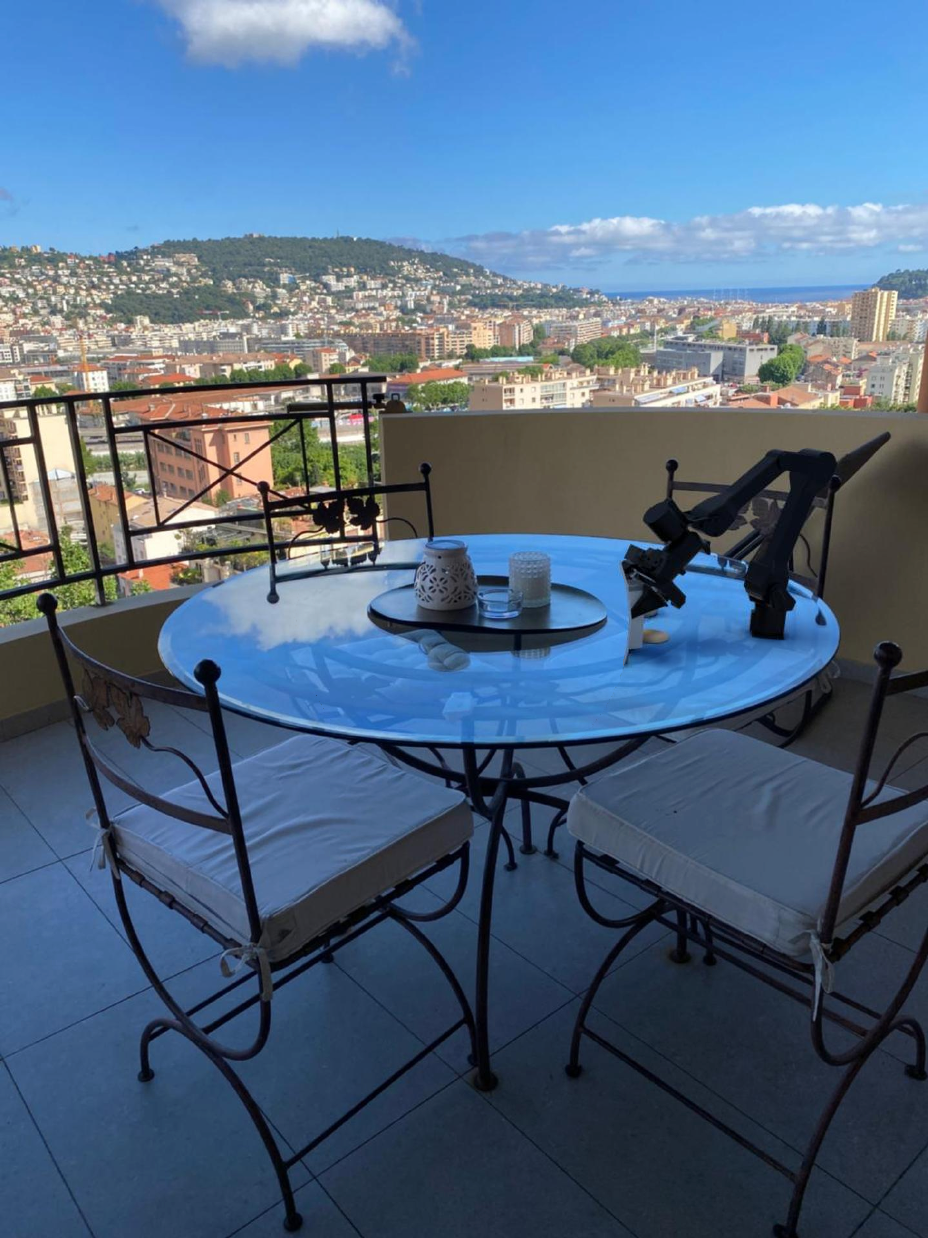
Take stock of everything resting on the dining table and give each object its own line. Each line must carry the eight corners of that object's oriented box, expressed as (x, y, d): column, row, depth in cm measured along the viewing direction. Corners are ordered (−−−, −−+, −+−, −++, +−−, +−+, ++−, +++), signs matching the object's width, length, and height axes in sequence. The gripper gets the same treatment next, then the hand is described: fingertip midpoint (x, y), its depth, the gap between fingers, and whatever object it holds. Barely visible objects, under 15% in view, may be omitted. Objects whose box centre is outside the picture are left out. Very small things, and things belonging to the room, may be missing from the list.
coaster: (669, 632, 176) (669, 630, 176) (667, 645, 169) (667, 643, 169) (631, 629, 178) (632, 627, 178) (628, 641, 171) (628, 639, 171)
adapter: (631, 640, 169) (635, 579, 164) (641, 647, 164) (646, 585, 160) (597, 644, 167) (600, 582, 162) (607, 651, 162) (611, 588, 158)
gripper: (628, 520, 168) (577, 577, 169) (676, 540, 151) (619, 603, 152) (660, 555, 173) (610, 610, 173) (710, 578, 156) (654, 639, 156)
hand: (622, 614), depth 163 cm, fingers closed on adapter, 4 cm apart
